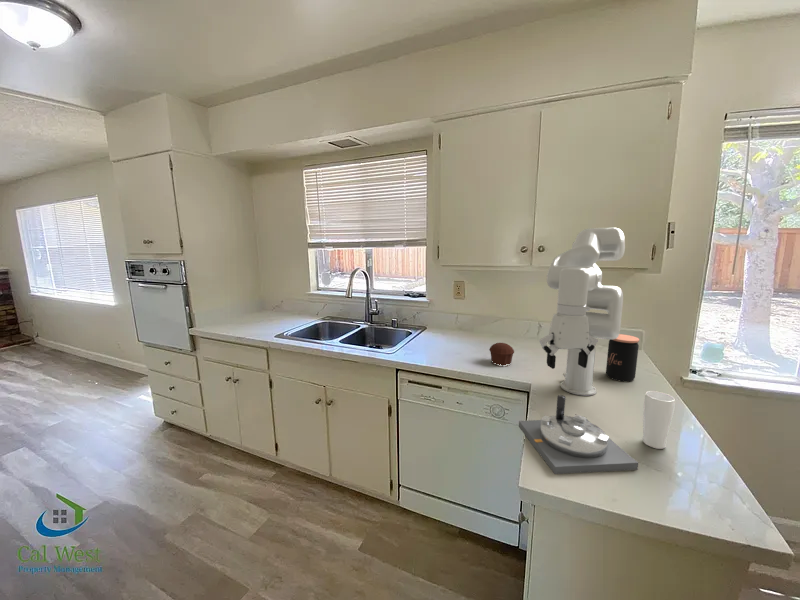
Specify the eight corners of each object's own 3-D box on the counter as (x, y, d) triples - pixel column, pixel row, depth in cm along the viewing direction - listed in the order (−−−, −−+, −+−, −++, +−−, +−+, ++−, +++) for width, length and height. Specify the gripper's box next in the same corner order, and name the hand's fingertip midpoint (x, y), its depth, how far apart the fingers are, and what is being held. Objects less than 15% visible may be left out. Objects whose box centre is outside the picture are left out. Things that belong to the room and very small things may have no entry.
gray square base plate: (518, 426, 105) (519, 420, 105) (585, 423, 106) (585, 417, 106) (554, 473, 83) (555, 466, 83) (637, 469, 85) (638, 461, 84)
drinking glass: (655, 437, 99) (661, 390, 96) (675, 451, 92) (682, 401, 89) (633, 437, 98) (639, 390, 96) (651, 451, 92) (658, 401, 89)
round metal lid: (530, 423, 102) (531, 395, 101) (582, 421, 103) (585, 393, 102) (559, 458, 86) (562, 425, 84) (622, 455, 87) (625, 422, 85)
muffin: (516, 362, 162) (517, 342, 161) (510, 369, 153) (511, 348, 152) (492, 357, 169) (493, 339, 167) (485, 364, 160) (486, 344, 158)
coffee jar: (600, 372, 149) (604, 333, 146) (625, 372, 148) (630, 334, 145) (613, 381, 138) (617, 340, 135) (640, 382, 137) (645, 341, 134)
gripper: (591, 307, 100) (586, 361, 102) (536, 308, 99) (532, 363, 101) (608, 312, 92) (602, 370, 95) (549, 313, 91) (544, 372, 94)
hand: (566, 366), depth 98 cm, fingers open, 9 cm apart
